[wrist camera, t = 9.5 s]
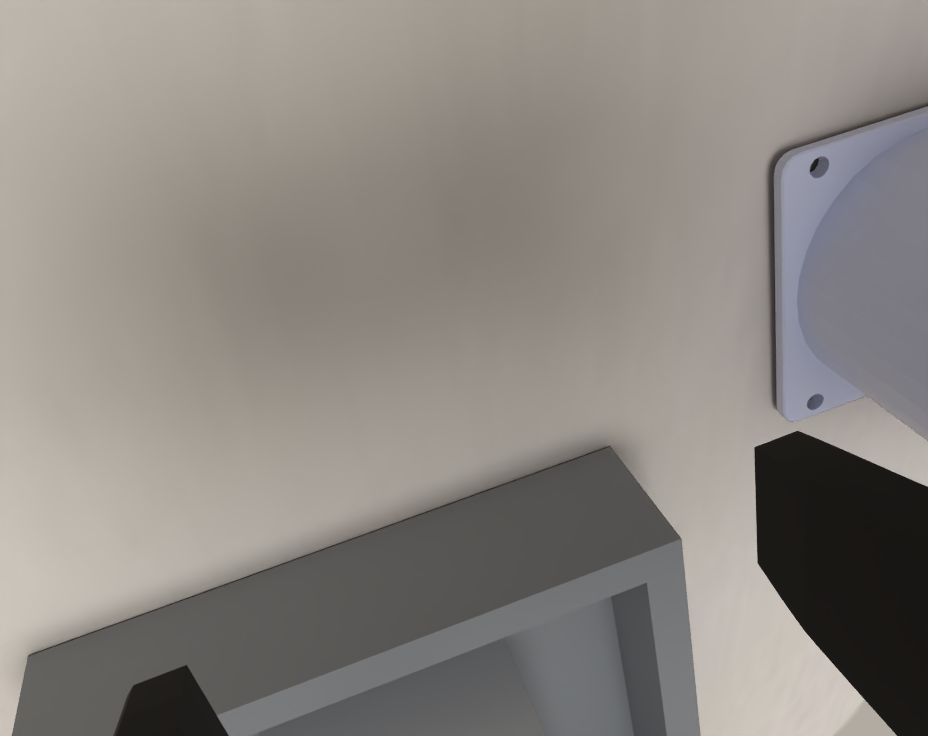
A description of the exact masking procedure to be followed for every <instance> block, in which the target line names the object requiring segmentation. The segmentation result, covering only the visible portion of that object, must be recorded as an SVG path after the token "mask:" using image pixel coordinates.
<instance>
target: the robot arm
mask: <svg viewBox="0 0 928 736" xmlns="http://www.w3.org/2000/svg"><path fill="white" fill-rule="evenodd" d="M817 158H819V162H818V166H817V167H816V168H815V170H814V171H812V172H811V173H810V167H811V164H812V163H813V161H814V160H815V159H817ZM774 229H775V310H776V391H777V410H778V412H779V413H780V414H781V415H782V416H783V417H784V418H785V419H786V420H787V421H791V422H794V421H799V420H802V419H805V418H807V417H810V416H813V415H815V414H818V413H821V412H824V411H826V410H829V409H832V408H834V407H837V406H840V405H843V404H845V403H848V402H851V401H854V400H856V399H859V398H862V397H864V396H867V397H869V398H870V399H871V400H873V401H874V402H876V403H877V404H878V405H880V406H881V407H882V408H884V409H885V410H886V411H888V412H889V413H890V414H892V415H893V416H895V417H896V418H897V419H899V420H900V421H901V422H903V423H904V424H905V425H907V426H908V427H909V428H911V429H912V430H914V431H915V432H916V433H918V434H919V435H920V436H922V437H923V438H924V439H926V440H927V441H928V106H927V107H924V108H921V109H918V110H914V111H911V112H908V113H905V114H902V115H899V116H896V117H893V118H889V119H886V120H883V121H880V122H877V123H874V124H871V125H867V126H864V127H861V128H858V129H855V130H852V131H849V132H846V133H842V134H839V135H836V136H833V137H830V138H827V139H824V140H821V141H817V142H814V143H811V144H808V145H805V146H802V147H799V148H796V149H792V150H790V151H789V152H787V153H785V154H784V155H783V156H782V157H781V158H780V159H779V161H778V163H777V165H776V167H775V171H774ZM813 395H814V396H813ZM812 396H813V398H812V399H811V400H810V401H808V400H809V399H810V398H811V397H812ZM755 483H756V520H757V556H758V564H759V566H760V567H761V569H762V570H763V572H764V573H765V575H766V576H767V578H768V579H769V581H770V582H771V584H772V585H773V587H774V588H775V589H776V591H777V592H778V594H779V595H780V597H781V598H782V600H783V601H784V603H785V604H786V606H787V607H788V608H789V610H790V611H791V613H792V614H793V615H794V617H795V618H796V620H797V621H798V622H799V624H800V625H801V627H802V628H803V629H804V631H805V632H806V633H807V634H808V635H809V637H810V638H811V639H812V640H813V641H814V642H815V644H816V645H817V646H818V647H819V648H820V649H821V650H822V652H823V653H824V654H825V655H826V656H827V657H828V658H829V660H830V661H831V662H832V663H833V664H834V665H835V666H836V668H837V669H838V670H839V671H840V672H841V673H842V674H843V675H844V677H845V678H846V679H847V680H848V681H849V682H850V683H851V685H852V686H853V687H854V688H855V689H856V690H857V691H858V692H859V694H860V695H861V696H862V697H863V698H864V699H865V700H866V701H867V702H868V704H869V705H870V706H871V707H872V708H873V709H874V710H875V711H876V712H877V714H878V715H879V716H880V717H881V718H882V719H883V720H884V721H885V722H886V724H887V725H888V726H889V727H890V728H891V729H892V730H893V732H895V734H896V735H897V736H928V487H927V486H924V485H922V484H920V483H917V482H915V481H913V480H910V479H908V478H906V477H904V476H901V475H899V474H897V473H894V472H892V471H890V470H888V469H885V468H883V467H881V466H878V465H876V464H874V463H872V462H869V461H867V460H865V459H863V458H860V457H858V456H856V455H853V454H851V453H849V452H847V451H844V450H842V449H840V448H837V447H835V446H833V445H831V444H828V443H826V442H823V441H821V440H819V439H816V438H814V437H812V436H809V435H807V434H804V433H802V432H799V431H796V432H793V433H791V434H788V435H785V436H783V437H780V438H778V439H775V440H772V441H770V442H767V443H765V444H762V445H759V446H757V447H755ZM113 736H229V735H228V734H227V732H226V730H225V728H224V727H223V725H222V723H221V722H220V720H219V718H218V717H217V715H216V713H215V712H214V710H213V708H212V707H211V705H210V703H209V701H208V700H207V698H206V696H205V695H204V693H203V691H202V690H201V688H200V686H199V685H198V683H197V681H196V680H195V678H194V676H193V674H192V673H191V671H190V669H189V668H188V666H187V665H185V666H182V667H179V668H177V669H174V670H172V671H169V672H166V673H164V674H161V675H159V676H156V677H153V678H151V679H148V680H146V681H143V682H140V683H138V684H135V685H133V687H132V688H131V690H130V692H129V694H128V695H127V698H126V701H125V704H124V707H123V710H122V712H121V715H120V718H119V721H118V724H117V727H116V730H115V732H114V735H113Z"/></svg>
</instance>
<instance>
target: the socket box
mask: <svg viewBox="0 0 928 736" xmlns="http://www.w3.org/2000/svg"><path fill="white" fill-rule="evenodd" d="M185 665H187V666H188V668H189V669H190V671H191V673H192V674H193V676H194V678H195V680H196V681H197V683H198V685H199V686H200V688H201V690H202V691H203V693H204V695H205V696H206V698H207V700H208V701H209V703H210V705H211V707H212V708H213V710H214V712H215V713H216V715H217V717H218V718H219V720H220V722H221V723H222V725H223V727H224V728H225V730H226V732H227V734H228V735H229V736H700V727H699V717H698V706H697V696H696V685H695V675H694V665H693V654H692V644H691V634H690V623H689V613H688V602H687V592H686V582H685V571H684V561H683V551H682V540H681V538H680V536H679V535H678V534H677V532H676V531H675V530H674V529H673V527H672V526H671V525H670V523H669V522H668V521H667V519H666V518H665V517H664V516H663V514H662V513H661V512H660V510H659V509H658V508H657V506H656V505H655V504H654V503H653V501H652V500H651V499H650V497H649V496H648V495H647V493H646V492H645V491H644V490H643V488H642V487H641V486H640V484H639V483H638V482H637V480H636V479H635V478H634V477H633V475H632V474H631V473H630V471H629V470H628V469H627V468H626V466H625V465H624V464H623V462H622V461H621V460H620V458H619V457H618V456H617V455H616V453H615V452H614V451H613V449H612V448H611V447H608V448H605V449H602V450H599V451H597V452H594V453H591V454H588V455H585V456H583V457H580V458H577V459H574V460H572V461H569V462H566V463H563V464H560V465H558V466H555V467H552V468H549V469H547V470H544V471H541V472H538V473H535V474H533V475H530V476H527V477H524V478H522V479H519V480H516V481H513V482H510V483H508V484H505V485H502V486H499V487H497V488H494V489H491V490H488V491H485V492H483V493H480V494H477V495H474V496H472V497H469V498H466V499H463V500H460V501H458V502H455V503H452V504H449V505H447V506H444V507H441V508H438V509H435V510H433V511H430V512H427V513H424V514H422V515H419V516H416V517H413V518H410V519H408V520H405V521H402V522H399V523H397V524H394V525H391V526H388V527H385V528H383V529H380V530H377V531H374V532H372V533H369V534H366V535H363V536H360V537H358V538H355V539H352V540H349V541H347V542H344V543H341V544H338V545H335V546H333V547H330V548H327V549H324V550H322V551H319V552H316V553H313V554H310V555H308V556H305V557H302V558H299V559H297V560H294V561H291V562H288V563H285V564H283V565H280V566H277V567H274V568H272V569H269V570H266V571H263V572H260V573H258V574H255V575H252V576H249V577H247V578H244V579H241V580H238V581H236V582H233V583H230V584H227V585H224V586H222V587H219V588H216V589H213V590H211V591H208V592H205V593H202V594H199V595H197V596H194V597H191V598H188V599H186V600H183V601H180V602H177V603H174V604H172V605H169V606H166V607H163V608H161V609H158V610H155V611H152V612H149V613H147V614H144V615H141V616H138V617H136V618H133V619H130V620H127V621H124V622H122V623H119V624H116V625H113V626H111V627H108V628H105V629H102V630H99V631H97V632H94V633H91V634H88V635H86V636H83V637H80V638H77V639H74V640H72V641H69V642H66V643H63V644H61V645H58V646H55V647H52V648H49V649H47V650H44V651H41V652H38V653H36V654H33V655H30V656H28V659H27V664H26V669H25V674H24V679H23V684H22V689H21V693H20V698H19V703H18V708H17V713H16V718H15V723H14V728H13V733H12V736H113V735H114V732H115V730H116V727H117V724H118V721H119V718H120V715H121V712H122V710H123V707H124V704H125V701H126V698H127V695H128V694H129V692H130V690H131V688H132V687H133V685H135V684H138V683H140V682H143V681H146V680H148V679H151V678H153V677H156V676H159V675H161V674H164V673H166V672H169V671H172V670H174V669H177V668H179V667H182V666H185Z"/></svg>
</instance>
